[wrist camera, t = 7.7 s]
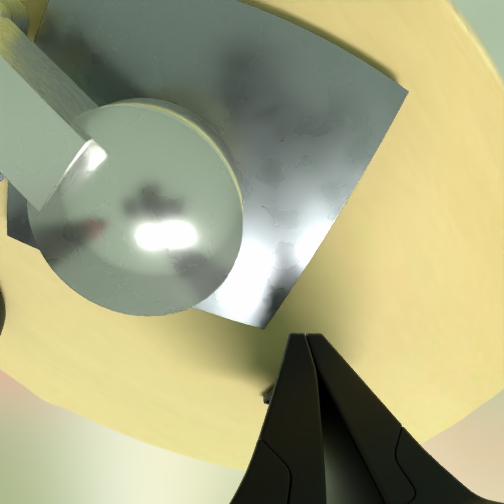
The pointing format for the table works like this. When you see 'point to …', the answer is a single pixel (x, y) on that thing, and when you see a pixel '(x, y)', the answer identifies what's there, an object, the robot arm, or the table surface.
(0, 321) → the cola bottle
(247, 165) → the plate
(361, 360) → the table surface
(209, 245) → the elbow
